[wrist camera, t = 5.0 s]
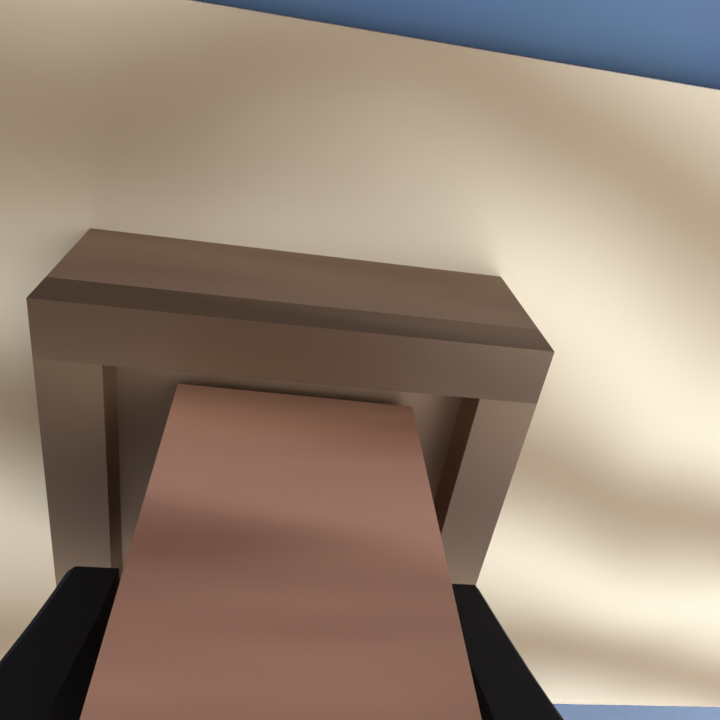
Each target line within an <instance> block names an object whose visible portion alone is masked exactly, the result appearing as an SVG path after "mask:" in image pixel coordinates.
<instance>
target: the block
mask: <svg viewBox="0 0 720 720" xmlns="http://www.w3.org/2000/svg"><path fill="white" fill-rule="evenodd" d="M80 720H482V718H481V714H480V709H479V705H478V700H477V696H476V691H475V687H474V682H473V678H472V673H471V669H470V664H469V660H468V655H467V651H466V646H465V642H464V637H463V633H462V628H461V624H460V619H459V615H458V610H457V606H456V601H455V597H454V592H453V588H452V584H451V579H450V575H449V570H448V566H447V561H446V557H445V552H444V548H443V543H442V539H441V534H440V530H439V525H438V521H437V516H436V512H435V507H434V503H433V498H432V494H431V489H430V485H429V480H428V476H427V471H426V467H425V462H424V458H423V453H422V449H421V444H420V440H419V435H418V431H417V426H416V422H415V417H414V413H413V408H412V407H411V406H401V405H390V404H380V403H370V402H360V401H350V400H340V399H329V398H319V397H309V396H299V395H289V394H279V393H268V392H258V391H248V390H238V389H228V388H218V387H207V386H197V385H187V384H178V385H177V388H176V392H175V395H174V398H173V402H172V405H171V409H170V412H169V416H168V419H167V422H166V426H165V429H164V433H163V436H162V440H161V443H160V446H159V450H158V453H157V457H156V460H155V463H154V467H153V470H152V474H151V477H150V481H149V484H148V487H147V491H146V494H145V498H144V501H143V504H142V508H141V511H140V515H139V518H138V522H137V525H136V528H135V532H134V535H133V539H132V542H131V545H130V549H129V552H128V556H127V559H126V563H125V566H124V569H123V573H122V576H121V580H120V583H119V587H118V590H117V593H116V597H115V600H114V604H113V607H112V610H111V614H110V617H109V621H108V624H107V628H106V631H105V634H104V638H103V641H102V645H101V648H100V651H99V655H98V658H97V662H96V665H95V669H94V672H93V675H92V679H91V682H90V686H89V689H88V692H87V696H86V699H85V703H84V706H83V710H82V713H81V716H80Z"/></svg>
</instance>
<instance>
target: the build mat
mask: <svg viewBox="0 0 720 720" xmlns="http://www.w3.org/2000/svg"><path fill="white" fill-rule="evenodd" d="M178 384H187V385H197V386H207V387H218V388H228V389H238V390H248V391H258V392H268V393H279V394H289V395H299V396H309V397H319V398H329V399H340V400H350V401H360V402H370V403H380V404H390V405H401V406H411V407H412V408H413V413H414V417H415V422H416V426H417V431H418V435H419V440H420V444H421V449H422V453H423V458H424V462H425V467H426V471H427V476H428V480H429V485H430V489H431V494H432V498H433V503H434V507H435V512H436V516H437V521H438V525H439V530H440V534H441V539H442V543H443V548H444V552H445V557H446V561H447V566H448V570H449V575H450V579H451V584H469V585H475V586H476V587H477V588H478V589H479V590H480V592H481V594H482V595H483V597H484V598H485V600H486V602H487V603H488V605H489V607H490V608H491V610H492V611H493V613H494V615H495V616H496V618H497V619H498V621H499V623H500V624H501V626H502V628H503V629H504V631H505V632H506V634H507V635H508V637H509V639H510V640H511V642H512V643H513V645H514V646H515V648H516V650H517V651H518V653H519V654H520V656H521V657H522V659H523V660H524V662H525V664H526V665H527V667H528V668H529V670H530V671H531V673H532V674H533V676H534V677H535V679H536V680H537V682H538V683H539V685H540V686H541V688H542V689H543V691H544V692H545V694H546V695H547V696H548V698H549V699H550V701H551V702H552V704H599V705H650V706H702V707H720V90H719V89H714V88H708V87H702V86H696V85H690V84H684V83H678V82H672V81H667V80H661V79H655V78H649V77H643V76H637V75H631V74H625V73H620V72H614V71H608V70H602V69H596V68H590V67H584V66H578V65H573V64H567V63H561V62H555V61H549V60H543V59H537V58H531V57H526V56H520V55H514V54H508V53H502V52H496V51H490V50H484V49H478V48H473V47H467V46H461V45H455V44H449V43H443V42H437V41H431V40H426V39H420V38H414V37H408V36H402V35H396V34H390V33H384V32H379V31H373V30H367V29H361V28H355V27H349V26H343V25H337V24H332V23H326V22H320V21H314V20H308V19H302V18H296V17H290V16H284V15H279V14H273V13H267V12H261V11H255V10H249V9H243V8H237V7H232V6H226V5H220V4H214V3H208V2H202V1H196V0H0V661H1V659H2V658H3V657H4V656H5V654H6V653H7V652H8V651H9V649H10V648H11V647H12V645H13V644H14V643H15V642H16V640H17V639H18V638H19V637H20V635H21V634H22V633H23V631H24V630H25V629H26V628H27V626H28V625H29V624H30V622H31V621H32V620H33V618H34V617H35V616H36V614H37V613H38V612H39V610H40V609H41V608H42V606H43V605H44V604H45V602H46V601H47V599H48V598H49V597H50V595H51V594H52V593H53V591H54V590H55V588H56V587H57V586H58V584H59V583H60V581H61V580H62V578H63V577H64V575H65V574H66V573H67V571H69V570H70V569H72V568H73V567H75V566H82V567H104V568H119V578H120V580H121V576H122V573H123V569H124V566H125V563H126V559H127V556H128V552H129V549H130V545H131V542H132V539H133V535H134V532H135V528H136V525H137V522H138V518H139V515H140V511H141V508H142V504H143V501H144V498H145V494H146V491H147V487H148V484H149V481H150V477H151V474H152V470H153V467H154V463H155V460H156V457H157V453H158V450H159V446H160V443H161V440H162V436H163V433H164V429H165V426H166V422H167V419H168V416H169V412H170V409H171V405H172V402H173V398H174V395H175V392H176V388H177V385H178Z"/></svg>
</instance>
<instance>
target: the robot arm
mask: <svg viewBox="0 0 720 720" xmlns="http://www.w3.org/2000/svg"><path fill="white" fill-rule="evenodd" d="M119 583H120V578H119V568H104V567H82V566H75V567H73V568H72V569H70V570H69V571H67V573H66V574H65V575H64V577H63V578H62V580H61V581H60V583H59V584H58V586H57V587H56V588H55V590H54V591H53V593H52V594H51V595H50V597H49V598H48V599H47V601H46V602H45V604H44V605H43V606H42V608H41V609H40V610H39V612H38V613H37V614H36V616H35V617H34V618H33V620H32V621H31V622H30V624H29V625H28V626H27V628H26V629H25V630H24V631H23V633H22V634H21V635H20V637H19V638H18V639H17V640H16V642H15V643H14V644H13V645H12V647H11V648H10V649H9V651H8V652H7V653H6V654H5V656H4V657H3V658H2V659H1V661H0V720H80V716H81V713H82V710H83V706H84V703H85V699H86V696H87V692H88V689H89V686H90V682H91V679H92V675H93V672H94V669H95V665H96V662H97V658H98V655H99V651H100V648H101V645H102V641H103V638H104V634H105V631H106V628H107V624H108V621H109V617H110V614H111V610H112V607H113V604H114V600H115V597H116V593H117V590H118V587H119ZM452 588H453V592H454V597H455V601H456V606H457V610H458V615H459V619H460V624H461V628H462V633H463V637H464V642H465V646H466V651H467V655H468V660H469V664H470V669H471V673H472V678H473V682H474V687H475V691H476V696H477V700H478V705H479V709H480V714H481V718H482V720H564V719H563V718H562V717H561V715H560V714H559V712H558V711H557V709H556V708H555V707H554V705H553V704H552V702H551V701H550V699H549V698H548V696H547V695H546V694H545V692H544V691H543V689H542V688H541V686H540V685H539V683H538V682H537V680H536V679H535V677H534V676H533V674H532V673H531V671H530V670H529V668H528V667H527V665H526V664H525V662H524V660H523V659H522V657H521V656H520V654H519V653H518V651H517V650H516V648H515V646H514V645H513V643H512V642H511V640H510V639H509V637H508V635H507V634H506V632H505V631H504V629H503V628H502V626H501V624H500V623H499V621H498V619H497V618H496V616H495V615H494V613H493V611H492V610H491V608H490V607H489V605H488V603H487V602H486V600H485V598H484V597H483V595H482V594H481V592H480V590H479V589H478V588H477V587H476V586H475V585H469V584H452Z"/></svg>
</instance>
